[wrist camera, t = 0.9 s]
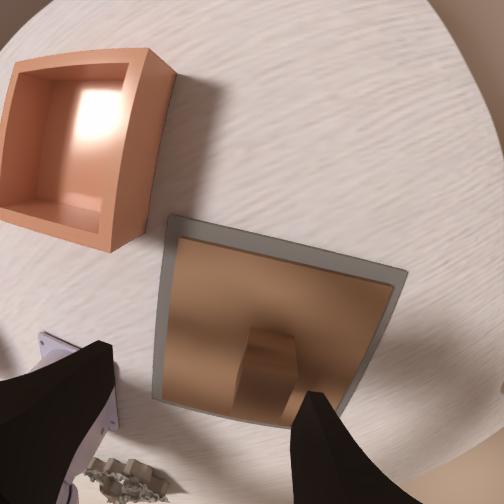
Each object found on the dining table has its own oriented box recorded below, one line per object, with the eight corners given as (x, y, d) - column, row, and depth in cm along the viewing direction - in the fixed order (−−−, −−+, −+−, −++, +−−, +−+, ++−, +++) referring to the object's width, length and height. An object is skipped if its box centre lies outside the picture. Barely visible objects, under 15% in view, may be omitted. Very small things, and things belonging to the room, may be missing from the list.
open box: (145, 232, 18) (110, 253, 13) (33, 205, 18) (-8, 217, 13) (177, 73, 15) (148, 47, 11) (55, 74, 15) (15, 62, 11)
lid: (322, 425, 21) (328, 468, 17) (163, 394, 21) (145, 435, 16) (389, 283, 17) (419, 317, 13) (181, 235, 17) (153, 258, 13)
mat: (328, 429, 22) (329, 433, 21) (153, 395, 22) (152, 398, 21) (405, 270, 17) (407, 272, 17) (170, 214, 17) (168, 215, 17)
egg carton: (115, 482, 29) (106, 503, 25) (82, 451, 27) (70, 472, 23) (178, 489, 27) (171, 514, 23) (145, 457, 25) (134, 484, 21)
